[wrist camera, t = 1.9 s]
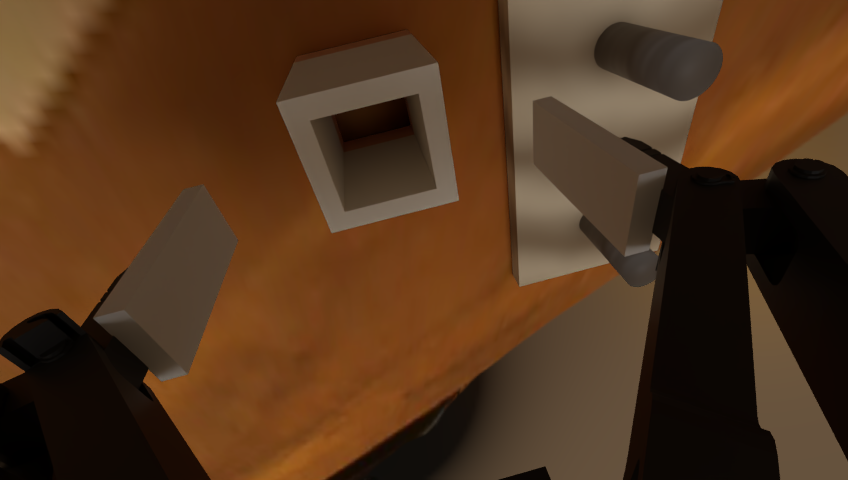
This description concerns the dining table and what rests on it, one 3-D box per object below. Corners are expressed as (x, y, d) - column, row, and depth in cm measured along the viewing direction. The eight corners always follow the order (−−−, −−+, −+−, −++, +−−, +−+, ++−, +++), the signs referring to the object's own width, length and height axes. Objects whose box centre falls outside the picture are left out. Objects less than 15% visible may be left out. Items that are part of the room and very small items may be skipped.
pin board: (495, -39, 19) (566, -37, 13) (723, -94, 19) (893, -116, 13) (512, 274, 32) (551, 345, 27) (646, 239, 33) (713, 301, 27)
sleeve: (296, 56, 20) (275, 102, 14) (407, 29, 20) (438, 62, 14) (334, 159, 24) (331, 233, 17) (427, 135, 24) (458, 200, 17)
